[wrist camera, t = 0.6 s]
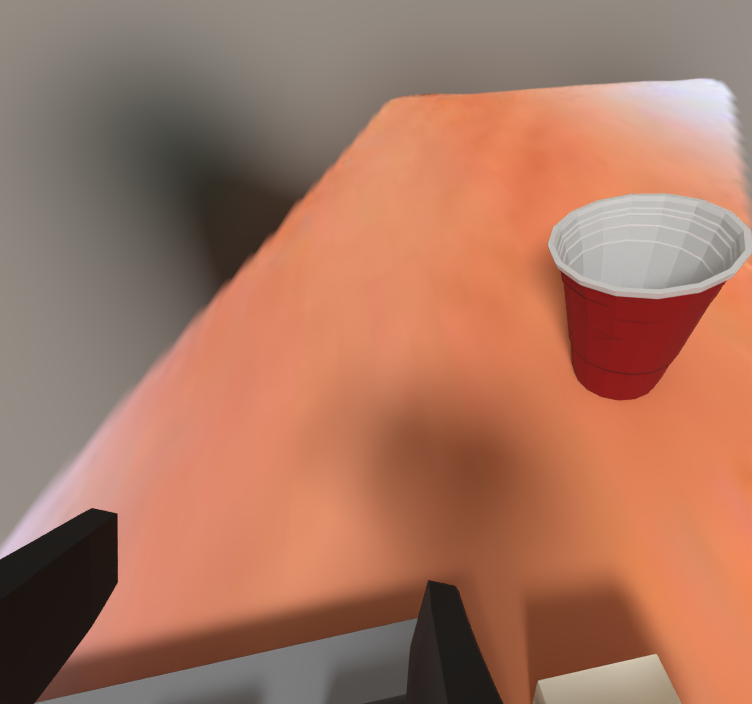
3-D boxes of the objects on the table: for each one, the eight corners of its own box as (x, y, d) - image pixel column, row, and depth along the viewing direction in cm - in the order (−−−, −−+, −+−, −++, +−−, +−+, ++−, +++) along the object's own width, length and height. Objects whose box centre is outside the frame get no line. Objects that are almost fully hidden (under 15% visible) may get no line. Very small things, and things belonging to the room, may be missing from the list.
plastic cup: (534, 322, 43) (546, 190, 35) (676, 326, 41) (725, 184, 32) (536, 423, 36) (551, 286, 28) (709, 436, 33) (783, 288, 25)
